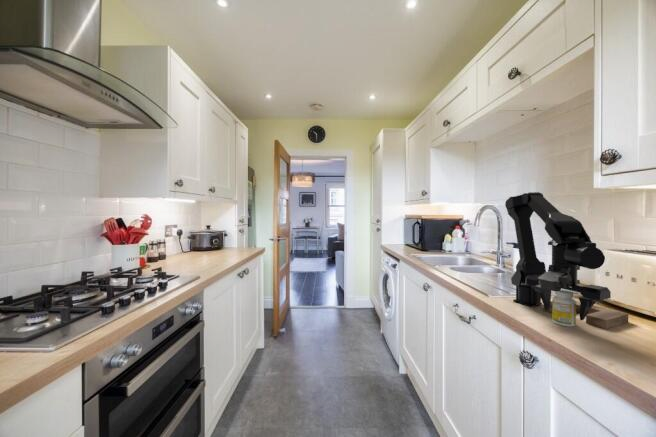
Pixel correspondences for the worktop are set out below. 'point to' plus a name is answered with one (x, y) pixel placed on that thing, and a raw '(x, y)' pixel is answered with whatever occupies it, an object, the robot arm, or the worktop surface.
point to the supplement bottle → (564, 308)
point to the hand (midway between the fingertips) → (563, 314)
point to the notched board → (601, 316)
